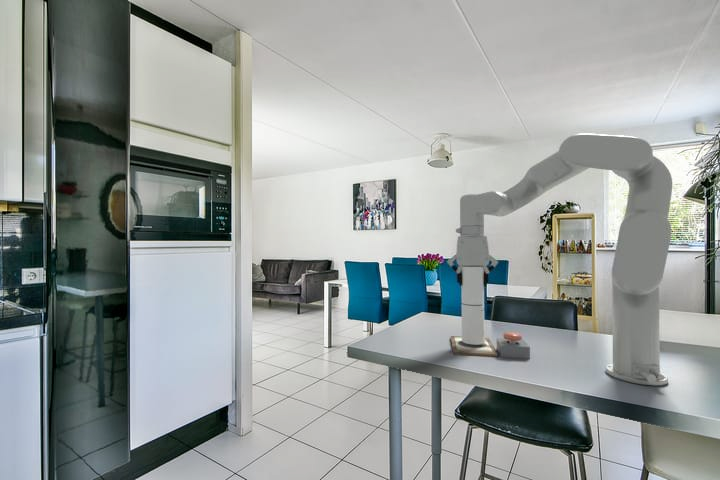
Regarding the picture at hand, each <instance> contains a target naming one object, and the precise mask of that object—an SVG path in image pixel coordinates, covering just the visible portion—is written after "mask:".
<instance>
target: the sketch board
mask: <svg viewBox="0 0 720 480" xmlns="http://www.w3.org/2000/svg"><path fill="white" fill-rule="evenodd" d="M450 342H451V347H452V354H453V355H462V356H463V355H464V356H477V357H478V356H480V357H493V358H494V357H499V352H498V351H497V349H495V347H494V345H493V343H492V341H491V340H490V338H489V337H484V344H480V345H472V344H467V343H464V342H462V336H457V335H456V336H455V335H451V336H450Z"/></svg>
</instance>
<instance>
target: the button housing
mask: <svg viewBox="0 0 720 480" xmlns="http://www.w3.org/2000/svg"><path fill="white" fill-rule="evenodd" d="M496 351H497V353H498V355H500V358H508V359H509V358H513V359H525V360H526V359H527V360H530V359H531V347H530V345H528V343H526V341H525V340H524V339H522V340H519V341H516V344H509V340H507V339H505V338H502V337H501V338H499V337H498V338H496Z"/></svg>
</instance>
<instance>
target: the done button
mask: <svg viewBox="0 0 720 480" xmlns="http://www.w3.org/2000/svg"><path fill="white" fill-rule="evenodd" d="M522 337H523V336H522V334H521V333H520V332H513V331H512V332H510V331H507V332H504V333H503V339H507V340H509V344H516V341H519V340H523V338H522Z"/></svg>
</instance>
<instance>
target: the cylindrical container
mask: <svg viewBox="0 0 720 480" xmlns="http://www.w3.org/2000/svg"><path fill="white" fill-rule="evenodd" d="M461 274H462V285H461V287H460V288H461V289H460V290H461V337H462V342H464V343H467V344H472V345H480V344H484V338H485V286H484V269H483V267H482V266H463V267H462V270H461Z"/></svg>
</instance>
